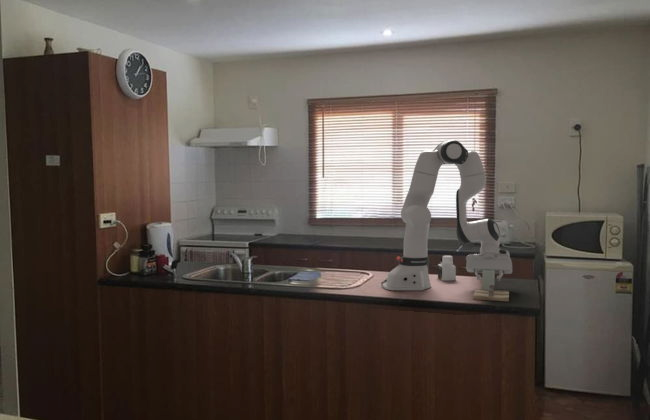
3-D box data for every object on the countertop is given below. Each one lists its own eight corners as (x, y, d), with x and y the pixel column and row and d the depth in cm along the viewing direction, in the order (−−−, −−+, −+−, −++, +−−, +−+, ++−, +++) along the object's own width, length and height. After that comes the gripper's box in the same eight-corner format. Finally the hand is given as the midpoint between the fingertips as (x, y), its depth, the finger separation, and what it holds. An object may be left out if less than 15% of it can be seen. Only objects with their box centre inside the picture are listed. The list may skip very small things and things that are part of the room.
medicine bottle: (437, 278, 282) (437, 254, 281) (451, 277, 282) (451, 254, 281) (441, 280, 274) (441, 256, 274) (455, 280, 275) (456, 256, 274)
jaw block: (482, 288, 255) (483, 269, 254) (494, 289, 253) (494, 269, 253) (482, 291, 250) (482, 271, 249) (494, 291, 248) (494, 271, 248)
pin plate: (475, 292, 247) (475, 283, 247) (509, 294, 243) (509, 285, 242) (473, 299, 234) (473, 289, 234) (508, 301, 229) (508, 291, 229)
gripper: (466, 250, 260) (464, 274, 252) (512, 251, 254) (512, 276, 245) (466, 258, 265) (465, 282, 256) (512, 259, 258) (512, 284, 250)
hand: (488, 279), depth 251 cm, fingers open, 7 cm apart
